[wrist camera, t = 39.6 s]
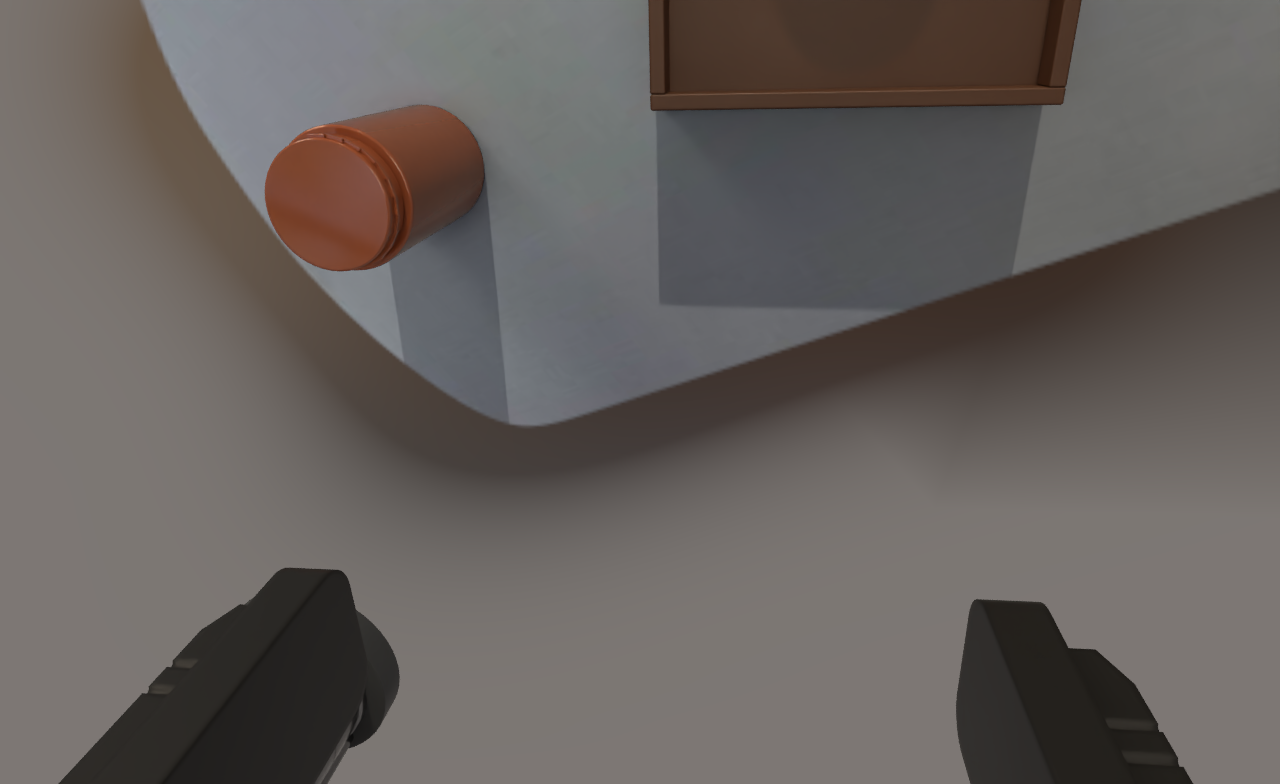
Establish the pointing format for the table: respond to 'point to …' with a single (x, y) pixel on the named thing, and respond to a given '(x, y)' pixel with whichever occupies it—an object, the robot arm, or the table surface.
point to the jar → (372, 185)
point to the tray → (858, 53)
